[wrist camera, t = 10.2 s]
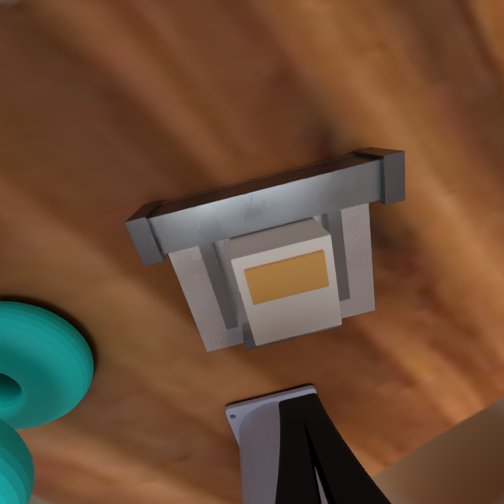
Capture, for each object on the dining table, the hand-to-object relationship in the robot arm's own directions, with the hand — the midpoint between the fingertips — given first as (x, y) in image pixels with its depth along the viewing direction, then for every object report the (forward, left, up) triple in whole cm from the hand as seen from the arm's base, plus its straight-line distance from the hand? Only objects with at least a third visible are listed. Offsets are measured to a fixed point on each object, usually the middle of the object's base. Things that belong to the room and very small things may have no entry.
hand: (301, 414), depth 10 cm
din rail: (+1, -1, -10) cm, 10 cm away
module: (+2, -1, -10) cm, 10 cm away
